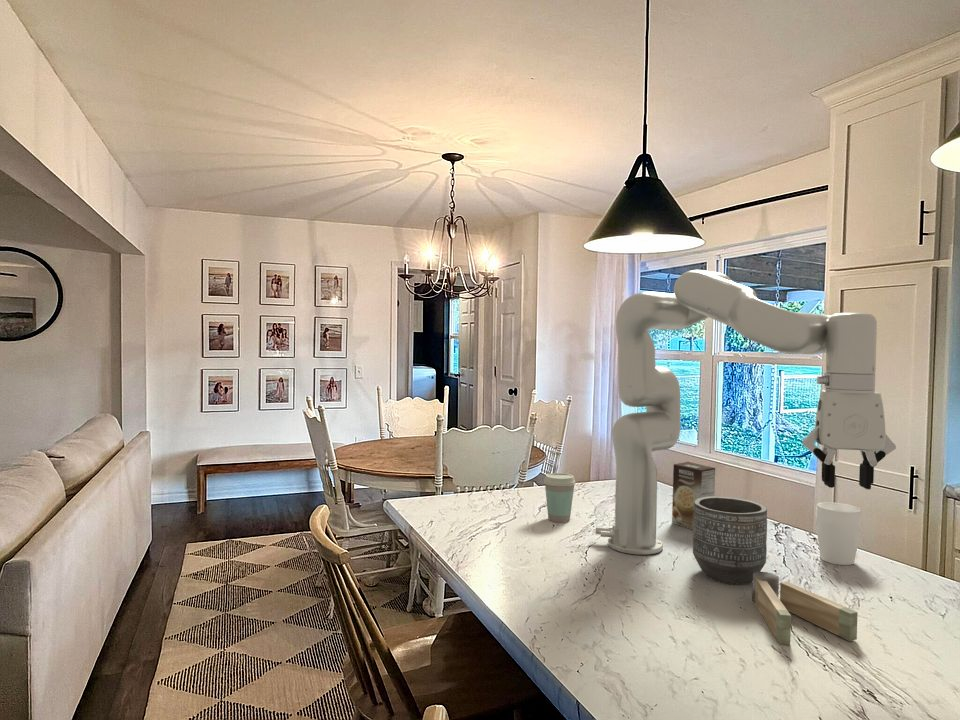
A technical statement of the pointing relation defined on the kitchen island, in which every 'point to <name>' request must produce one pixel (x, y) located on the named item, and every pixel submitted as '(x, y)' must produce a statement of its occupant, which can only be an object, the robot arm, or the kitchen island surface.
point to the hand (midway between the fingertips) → (847, 485)
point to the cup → (838, 532)
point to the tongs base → (771, 605)
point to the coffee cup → (559, 496)
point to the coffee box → (690, 490)
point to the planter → (729, 538)
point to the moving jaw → (819, 610)
